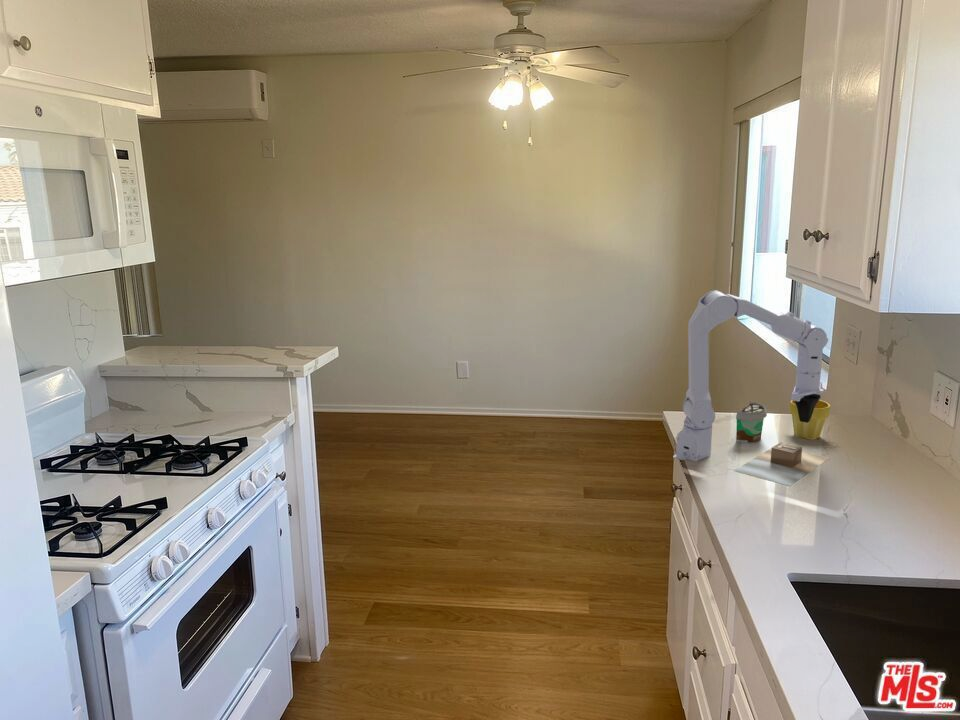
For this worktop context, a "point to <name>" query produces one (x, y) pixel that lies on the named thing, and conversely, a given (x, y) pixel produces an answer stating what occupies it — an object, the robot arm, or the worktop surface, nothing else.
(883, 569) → the worktop surface
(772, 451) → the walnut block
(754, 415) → the food container
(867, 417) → the worktop surface
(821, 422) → the plant pot
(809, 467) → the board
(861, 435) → the worktop surface
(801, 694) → the worktop surface
